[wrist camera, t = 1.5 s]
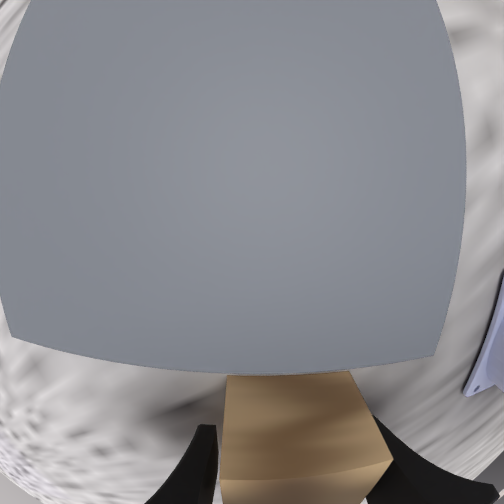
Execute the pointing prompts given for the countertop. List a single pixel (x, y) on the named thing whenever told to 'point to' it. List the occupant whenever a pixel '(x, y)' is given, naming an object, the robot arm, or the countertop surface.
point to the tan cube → (299, 441)
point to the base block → (231, 182)
